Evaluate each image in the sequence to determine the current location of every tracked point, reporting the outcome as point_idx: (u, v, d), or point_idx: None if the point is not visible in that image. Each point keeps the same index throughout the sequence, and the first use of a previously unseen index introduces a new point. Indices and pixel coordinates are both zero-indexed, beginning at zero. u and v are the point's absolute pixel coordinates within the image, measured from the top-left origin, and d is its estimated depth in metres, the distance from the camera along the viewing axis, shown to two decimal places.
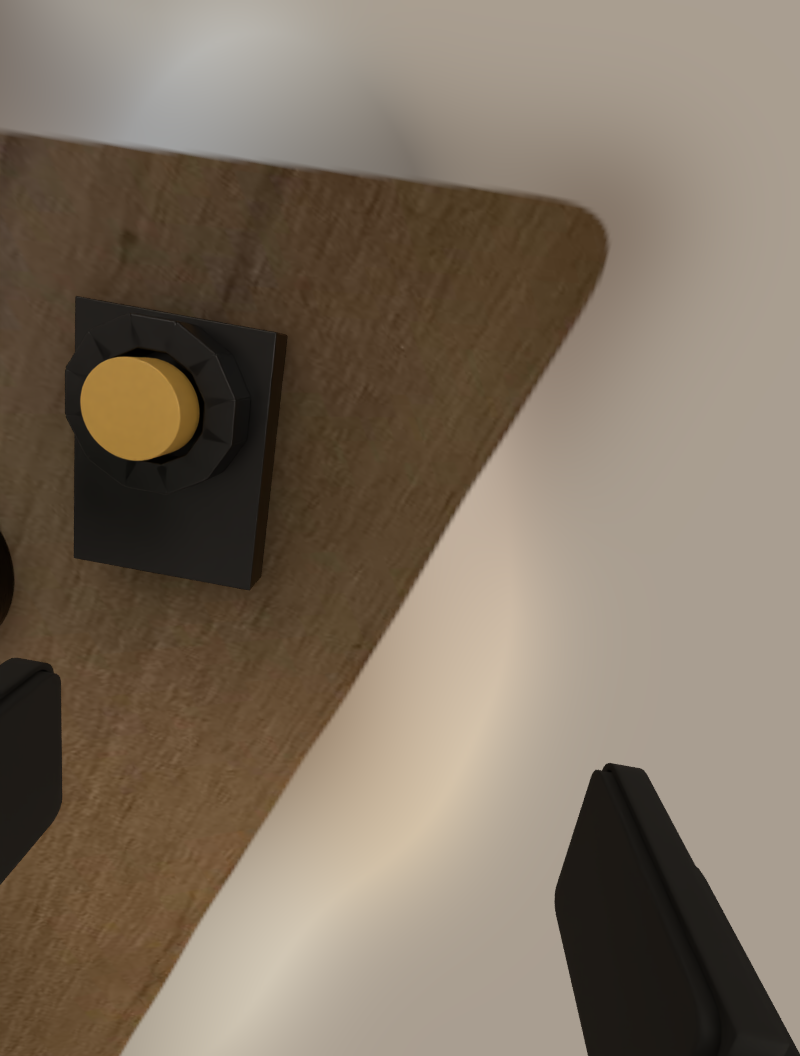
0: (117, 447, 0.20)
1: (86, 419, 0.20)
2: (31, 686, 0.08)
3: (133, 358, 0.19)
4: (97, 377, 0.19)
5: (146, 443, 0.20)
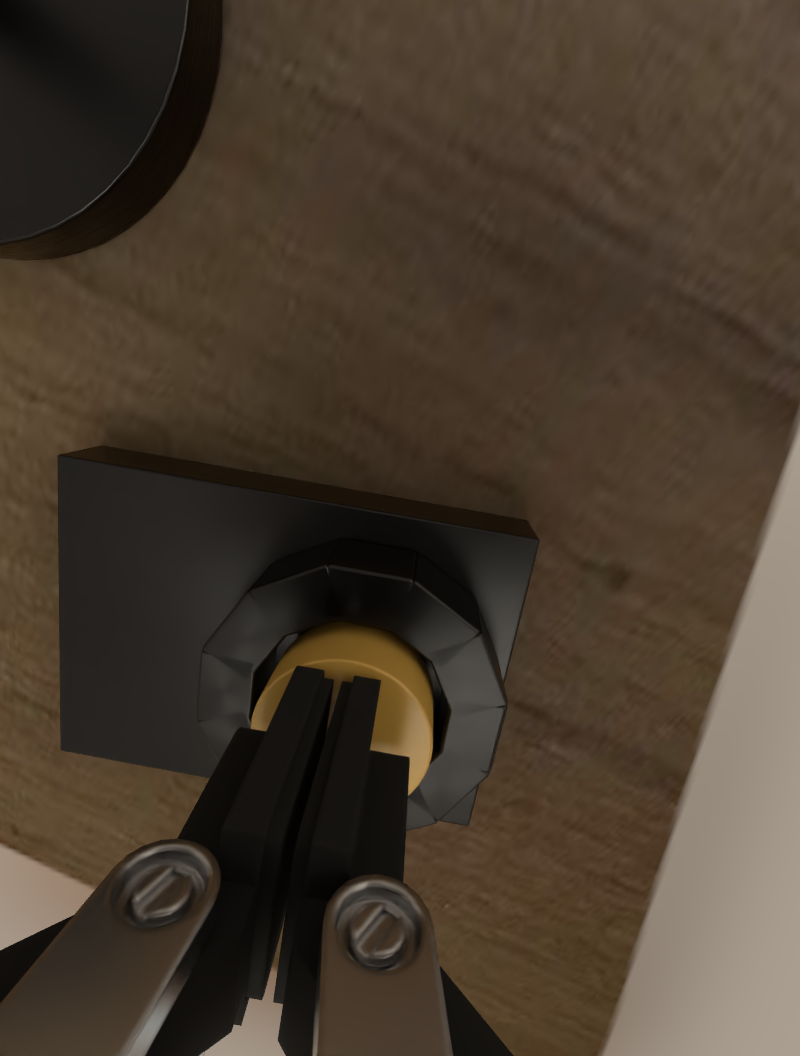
0: (271, 711, 0.11)
1: (318, 667, 0.10)
2: (325, 690, 0.10)
3: (429, 760, 0.11)
4: (396, 699, 0.10)
5: None
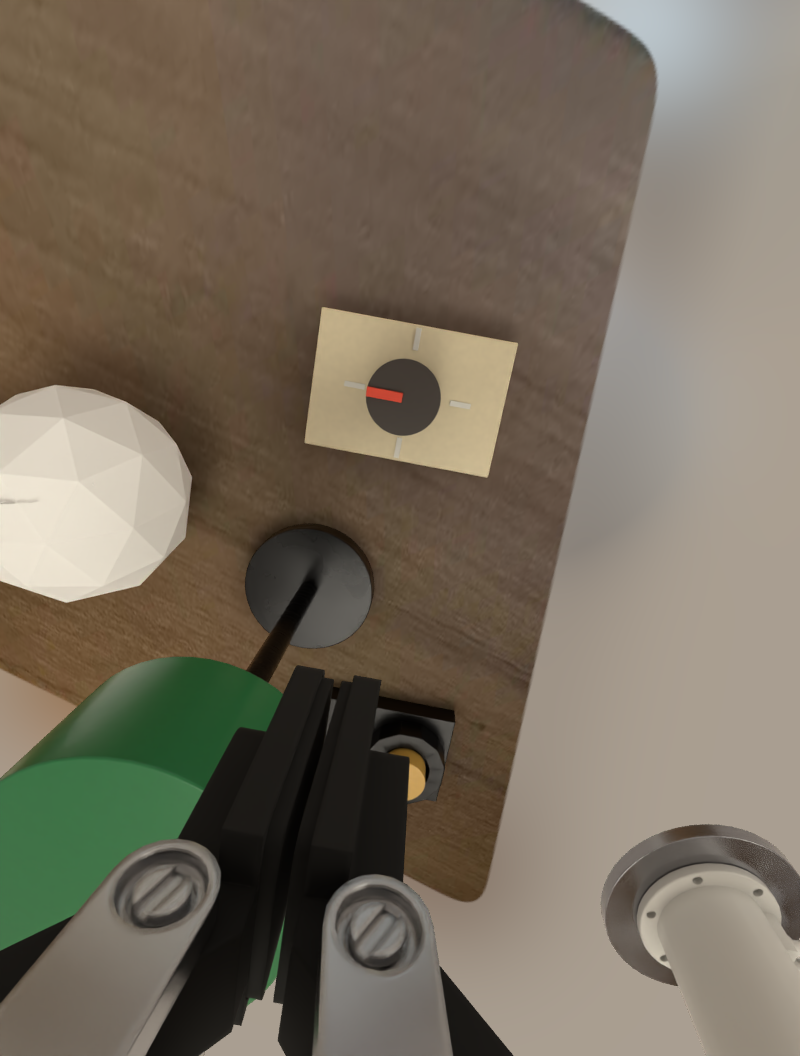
0: None
1: None
2: (325, 690, 0.10)
3: (424, 786, 0.43)
4: (416, 772, 0.43)
5: None
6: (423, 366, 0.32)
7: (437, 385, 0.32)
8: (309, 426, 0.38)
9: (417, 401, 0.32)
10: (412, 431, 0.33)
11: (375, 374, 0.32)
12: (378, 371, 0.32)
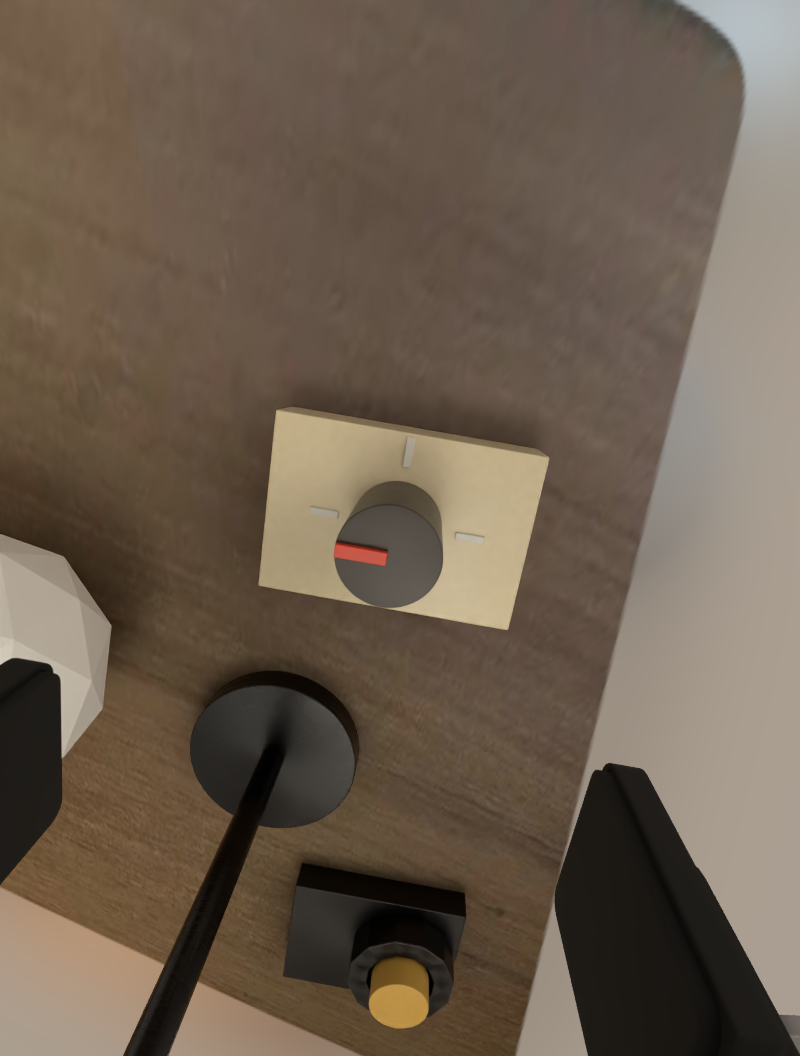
0: (376, 997, 0.33)
1: (392, 986, 0.33)
2: (31, 686, 0.08)
3: None
4: (417, 996, 0.33)
5: (379, 1011, 0.33)
6: (417, 514, 0.22)
7: (438, 541, 0.22)
8: (264, 565, 0.28)
9: (409, 562, 0.22)
10: (402, 602, 0.23)
11: (347, 525, 0.22)
12: (351, 521, 0.22)
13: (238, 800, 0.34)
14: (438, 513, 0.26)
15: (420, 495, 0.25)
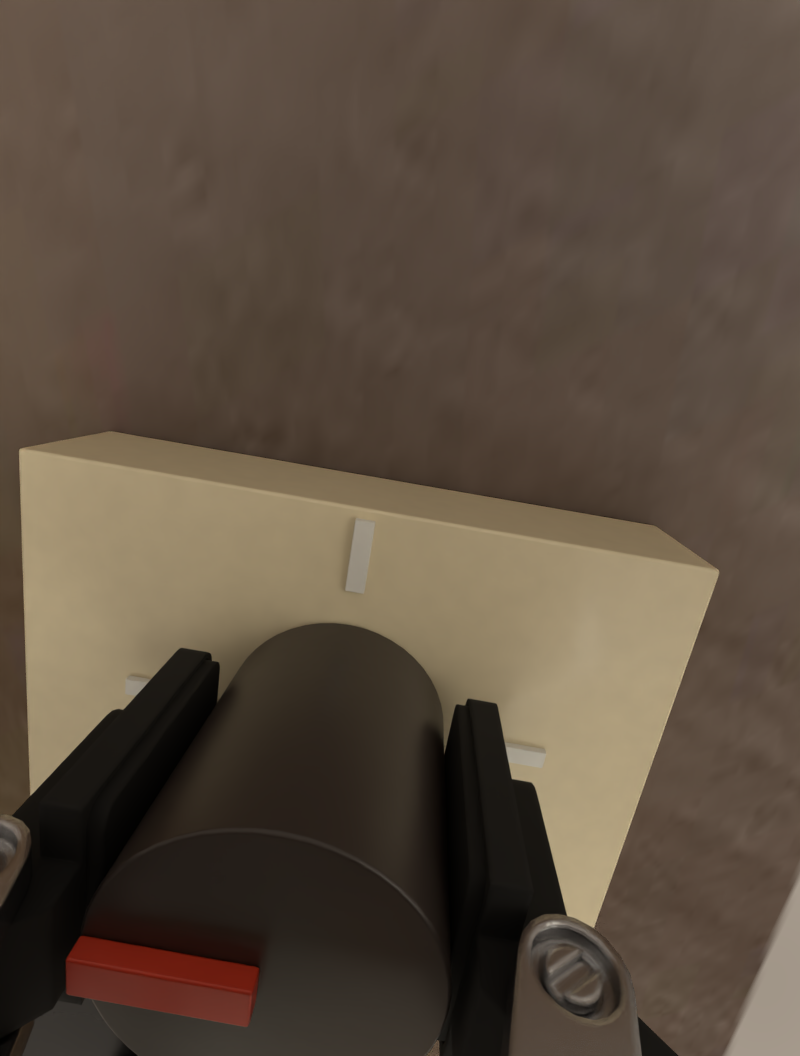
0: None
1: None
2: (204, 672, 0.10)
3: None
4: None
5: None
6: (356, 864, 0.06)
7: (433, 945, 0.06)
8: None
9: (337, 1001, 0.06)
10: None
11: (110, 890, 0.06)
12: (123, 878, 0.06)
13: None
14: (435, 717, 0.10)
15: (385, 687, 0.09)
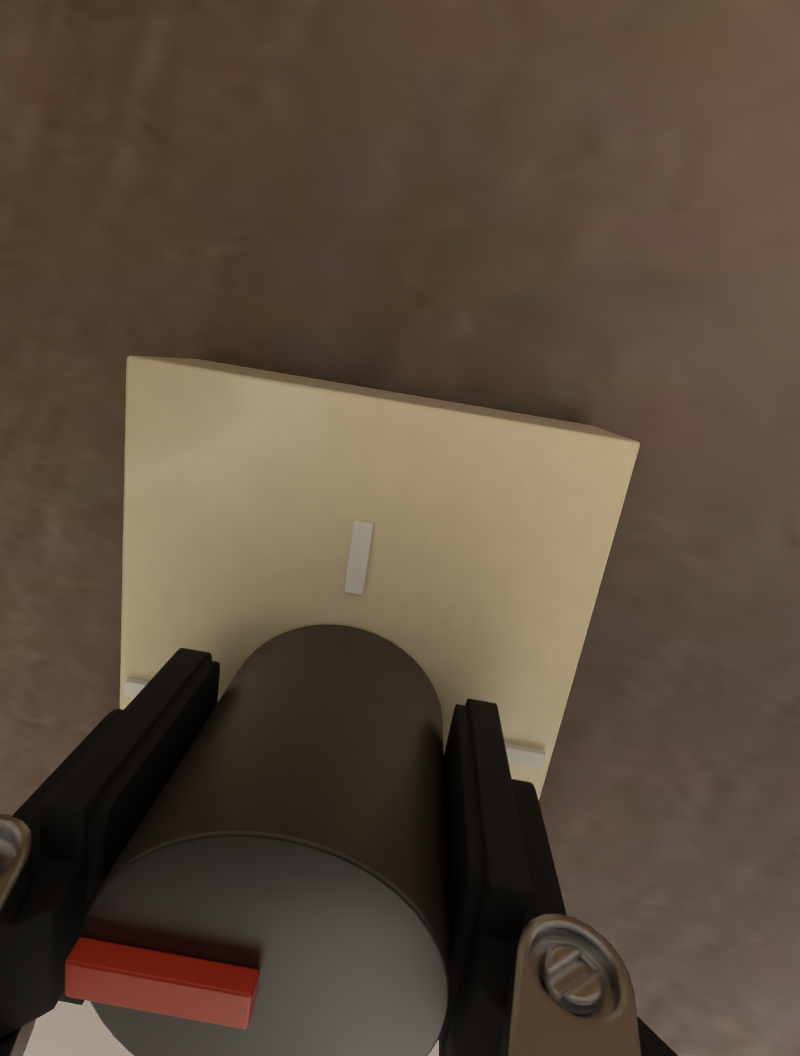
0: None
1: None
2: (204, 672, 0.10)
3: None
4: None
5: None
6: (357, 867, 0.06)
7: (433, 948, 0.06)
8: (192, 380, 0.09)
9: (336, 1003, 0.06)
10: None
11: (110, 891, 0.06)
12: (123, 879, 0.06)
13: None
14: (435, 719, 0.10)
15: (386, 689, 0.09)
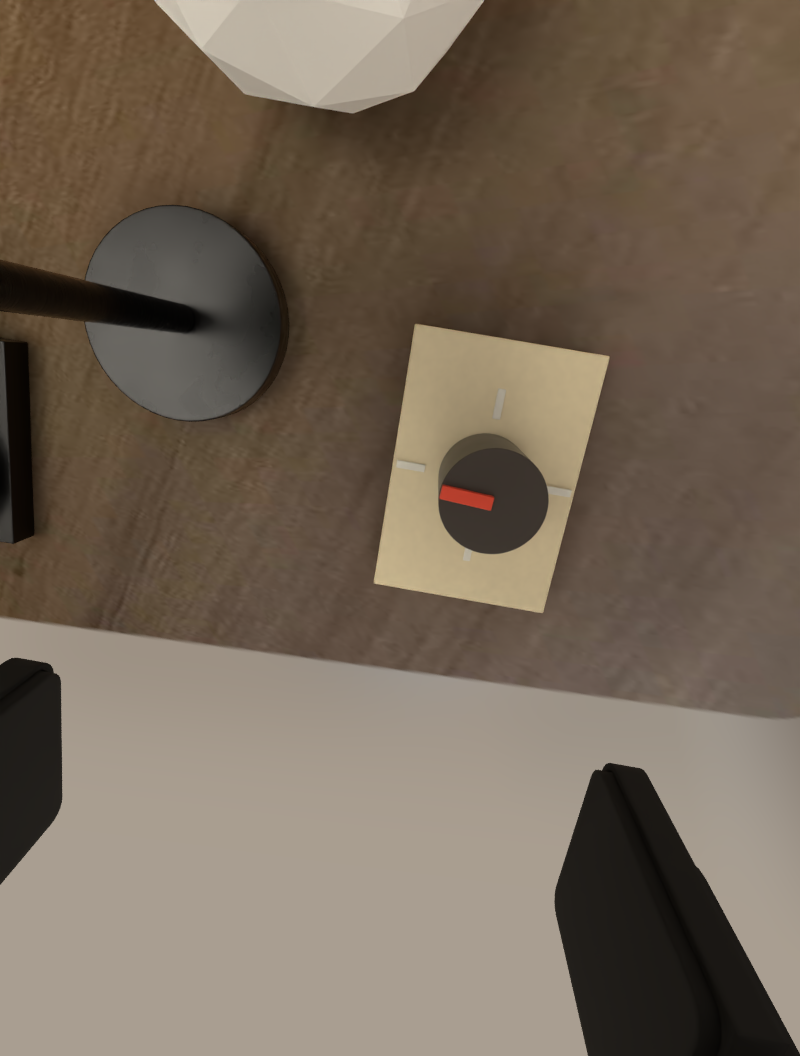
0: None
1: None
2: (31, 686, 0.08)
3: None
4: None
5: None
6: (527, 460, 0.22)
7: (545, 488, 0.22)
8: (440, 333, 0.25)
9: (514, 509, 0.22)
10: (502, 549, 0.23)
11: (455, 468, 0.22)
12: (460, 464, 0.22)
13: (114, 269, 0.27)
14: None
15: (516, 447, 0.25)
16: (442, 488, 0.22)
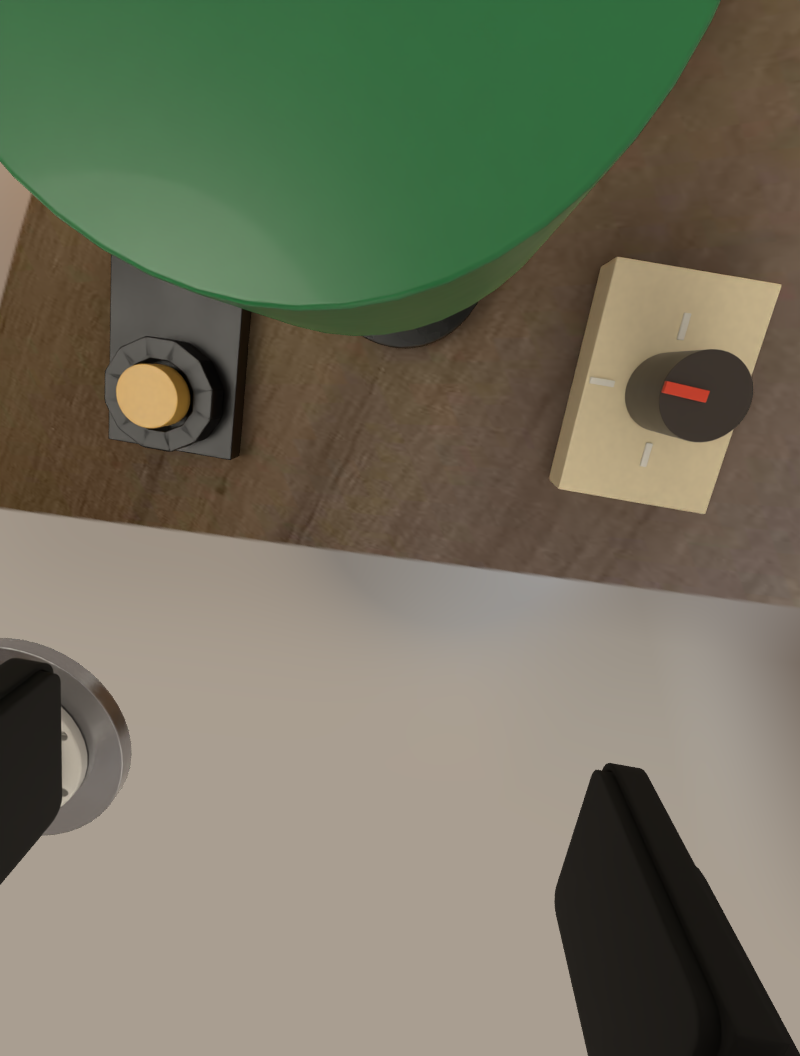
0: (154, 372, 0.31)
1: (173, 390, 0.31)
2: (31, 686, 0.08)
3: (144, 427, 0.32)
4: (166, 416, 0.32)
5: (136, 375, 0.31)
6: (738, 359, 0.26)
7: (751, 383, 0.26)
8: (638, 264, 0.30)
9: (723, 402, 0.27)
10: (709, 437, 0.27)
11: (677, 366, 0.26)
12: (681, 363, 0.26)
13: None
14: None
15: None
16: (666, 383, 0.26)
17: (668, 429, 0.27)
